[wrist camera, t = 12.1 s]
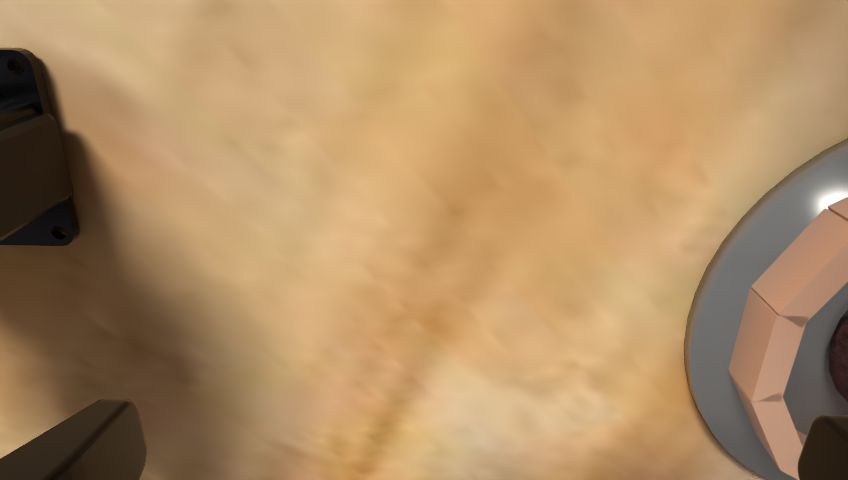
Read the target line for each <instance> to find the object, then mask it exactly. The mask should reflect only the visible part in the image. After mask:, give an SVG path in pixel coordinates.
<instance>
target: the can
mask: <svg viewBox="0 0 848 480" xmlns="http://www.w3.org/2000/svg"><path fill="white" fill-rule="evenodd" d="M829 372H830V375H831V377H832V380H833V383H834V386H835V388H836V390H837V391H838V392H839V393H840V394H841V395H842V397H843V398H844V399H845V400H846V401H847V402H848V310H847V311H846V313H845V314H844V315H843V316H842V317H841V318H840V320H839V322H838V325H837V327H836V329H835V331H834V333H833V335H832V338H831V344H830V356H829Z"/></svg>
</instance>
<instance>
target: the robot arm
mask: <svg viewBox="0 0 848 480" xmlns="http://www.w3.org/2000/svg"><path fill="white" fill-rule="evenodd" d="M16 59H19V60H20V61H21V62H22V63H23V65H24V72H21V71H20V70H18V68H17V66H16ZM72 192H73V188H72V184H71V180H70V176H69V171H68V167H67V163H66V159H65V155H64V151H63V146H62V142H61V138H60V134H59V130H58V126H57V122H56V120H55V119H54V118H53V117H52V113H51V108H50V104H49V100H48V96H47V92H46V88H45V84H44V79H43V75H42V71H41V67H40V64H39V62H38V59H37V58H36V57H35V56H34V54H33V53H31V52H30V51H28V50H26V49H22V48H0V245H40V246H64V245H68V244H69V243H71V242H72V241H74V240H75V239H76V238H78V236H79V233H80V230H79V224H78V220H77V216H76V212H75V208H74V204H73V199H72V195H71V194H72ZM58 226H60V227H62V228H63V229H64V230H65V231H66V235H65V234H62V233H61V232H60V231H59V229H58ZM146 454H147V448H146V442H145V438H144V433H143V429H142V425H141V420H140V416H139V411H138V408H137V405H136V404H135V403H134V402H133V401H131V400H129V399H102V400H99V401H97V402H95V403H93V404H92V405H90V406H88V407H87V408H85V409H83V410H82V411H80V412H78V413H77V414H75V415H73V416H72V417H70V418H68V419H67V420H65V421H63V422H62V423H60V424H58V425H56V426H55V427H53V428H51V429H50V430H48V431H46V432H45V433H43V434H41V435H40V436H38V437H36V438H35V439H33V440H31V441H30V442H28V443H26V444H25V445H23V446H21V447H19V448H18V449H16V450H14V451H13V452H11V453H9V454H8V455H6V456H4V457H3V458H1V459H0V480H139V479H140V476H141V474H142V471H143V468H144V465H145V461H146ZM798 476H799V479H800V480H848V416H847V415H820V416H817V417H816V418H815V419H814V420H813V421H812V423H811V426H810V429H809V431H808V434H807V437H806V440H805V443H804V446H803V448H802V451H801V454H800V457H799V460H798Z"/></svg>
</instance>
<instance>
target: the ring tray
mask: <svg viewBox="0 0 848 480" xmlns="http://www.w3.org/2000/svg"><path fill="white" fill-rule="evenodd" d="M847 310H848V139H846V140H844V141H842V142H840V143H838V144H836V145H834V146H833V147H831V148H829V149H827V150H825V151H823V152H821V153H820V154H818V155H817V156H815V157H814V158H812V159H811V160H809V161H808V162H806V163H805V164H803V165H802V166H800V167H799V168H797V169H796V170H794V171H793V172H791V173H790V174H789V175H788V176H787V177H785V178H784V179H783V180H782V181H781V182H779V183H778V184H777V185H776V186H774V187H773V188H772V189H771V190H770V191H768V192H767V193H766V194H765V195H764V196H763V197H762V198H761V199H760V200H759V201H758V202H757V203H756V204H755V205H754V206H753V207H752V208H751V209H750V210H749V211H748V212H747V213H746V214H745V215H744V216H743V217H742V218H741V220H740V221H739V222H738V223H737V225H736V226H735V227H734V228H733V230H732V231H731V232H730V233H729V235H728V236H727V237H726V239H725V240H724V241H723V242H722V244H721V246H720V247H719V249H718V250H717V252H716V254H715V255H714V257H713V259H712V260H711V262H710V263H709V265H708V267H707V268H706V271H705V273H704V275H703V277H702V279H701V282H700V284H699V286H698V288H697V290H696V293H695V296H694V299H693V302H692V306H691V309H690V312H689V316H688V320H687V327H686V334H685V341H684V350H685V369H686V374H687V380H688V385H689V388H690V391H691V393H692V396H693V399H694V402H695V404H696V406H697V408H698V410H699V411H700V413H701V415H702V417H703V418H704V420H705V422H706V423H707V425H708V427H709V428H710V430H711V432H712V433H713V435H714V437H715V438H716V439H717V440H718V441H719V443H720V444H721V445H722V446H723V447H724V449H725V450H726V451H727V452H728V453H729V454H730V455H731V456H733V457H734V458H735V459H736V460H737V461H738V462H740V463H741V464H742V465H743V466H745V467H746V468H748V469H749V470H751V471H753V472H754V473H756V474H757V475H759V476H761V477H763V478H765V479H767V480H800V479H799V476H798V460H799V457H800V454H801V451H802V448H803V446H804V443H805V440H806V437H807V434H808V431H809V429H810V426H811V423H812V421H813V420H814V419H815V418H816V417H817V416H820V415H847V416H848V402H847V401H846V400H845V399H844V398H843V397H842V395H841V394H840V393H839V392H838V391H837V390H836V388H835V386H834V383H833V380H832V377H831V375H830V372H829V356H830V344H831V338H832V335H833V333H834V331H835V329H836V327H837V325H838V322H839V320H840V318H841V317H842V316H843V315H844V314H845V313H846V311H847Z"/></svg>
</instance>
